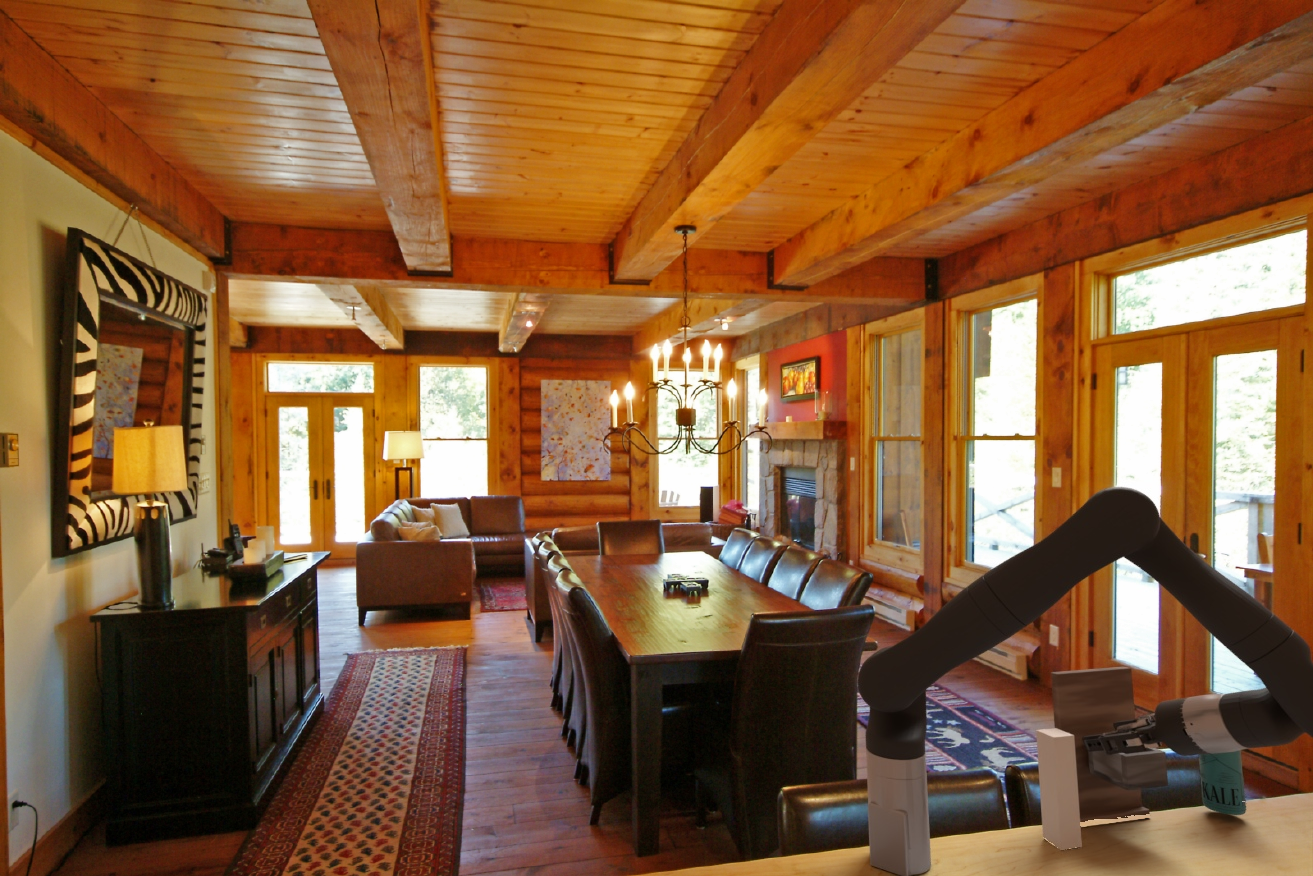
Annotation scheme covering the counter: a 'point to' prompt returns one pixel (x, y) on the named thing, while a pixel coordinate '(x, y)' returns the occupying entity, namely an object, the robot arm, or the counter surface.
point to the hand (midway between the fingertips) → (1101, 736)
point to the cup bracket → (1104, 779)
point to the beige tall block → (1059, 788)
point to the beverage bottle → (1222, 782)
